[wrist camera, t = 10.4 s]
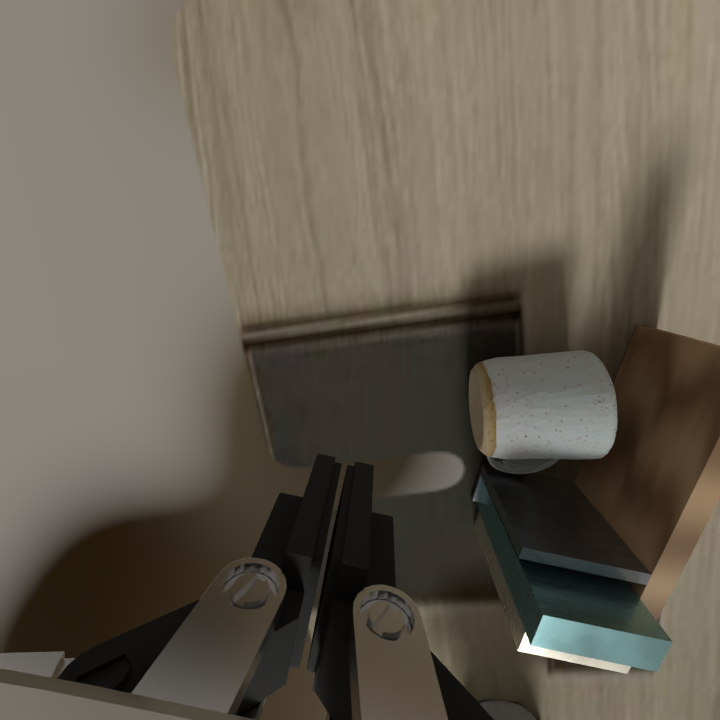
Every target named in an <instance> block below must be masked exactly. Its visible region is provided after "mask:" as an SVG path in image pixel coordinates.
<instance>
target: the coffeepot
mask: <svg viewBox="0 0 720 720" xmlns="http://www.w3.org/2000/svg"><path fill="white" fill-rule="evenodd" d="M479 704H480V705H481V706H482V707H483V708H484V709H485V710H486V711H487V712H488V714H489V715H490V716H491V717H492V718H493V719H494V720H537V719H536V718H535V717H534V716H533V715H532V714H531V712H530V711H528V710H527V709H526V708H524V707H522V706H521V705H519V704H516V703H513V702H509V701H503V700H492V701H485V702H481V703H479Z"/></svg>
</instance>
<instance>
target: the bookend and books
mask: <svg viewBox="0 0 720 720" xmlns="http://www.w3.org/2000/svg"><path fill="white" fill-rule="evenodd" d="M471 499H472V501H475V502H477V503H476V504H477V507H478V510H479V511H478V514H477V517H476V521H475V524H474V526H475V529H476V532H477V535H478V537H479V540H480V543H481V546H482V549H483V552H484V555H485V558H486V561H487V563H488V566H489V569H490V572H491V575H492V578H493V581H494V584H495V587H496V589H497V592H498V595H499V598H500V601H501V604H502V607H503V610H504V613H505V615H506V618H507V621H508V624H509V627H510V630H511V633H512V636H513V639H514V642H515V644H516V647H517V650H518V651H520V652H525V653H530V654H535V655H539V656H544V657H549V658H554V659H559V660H563V661H568V662H573V663H578V664H583V665H587V666H592V667H597V668H602V669H607V670H611V671H616V672H621V673H626V674H627V673H628V671H629V669H630V668H631V667H636V668H641V669H645V670H650V671H655V672H657V670H658V668H659V666H660V665H661V663H662V661H663V659H664V657H665V655H666V653H667V652H668V650H669V648H670V646H671V644H672V641H671V639H670V638H669V637H668V635H667V634H666V633H665V631H664V630H663V629H662V627H661V626H660V625H659V623H658V622H657V621H656V619H655V618H654V617H653V615H652V614H651V613H650V611H649V610H648V609H647V607H646V606H645V605H644V603H643V602H642V601H641V599H640V598H639V597H638V595H637V594H636V593H635V591H634V590H633V589H632V587H631V586H630V585H629V583H628V582H627V581H630V582H634V583H639V584H644V585H647V584H648V582H649V580H650V578H651V576H652V574H651V573H650V572H649V571H648V569H647V568H646V567H645V566H644V565H643V563H642V562H641V561H640V560H639V559H638V558H637V556H636V555H635V554H634V553H633V552H632V551H631V549H630V548H629V547H628V546H627V545H626V543H625V542H624V541H623V540H622V539H621V538H620V536H619V535H618V534H617V533H616V532H615V530H614V529H613V528H612V527H611V526H610V525H609V523H608V522H607V521H606V520H605V519H604V517H603V516H602V515H601V514H600V513H599V512H598V510H597V509H596V508H595V507H594V506H593V505H592V503H591V502H590V501H589V500H588V499H587V497H586V496H585V495H584V494H583V493H582V492H581V490H580V489H579V488H578V487H577V486H576V484H575V483H573V482H568V481H564V480H559V479H554V478H549V477H545V476H540V475H535V474H530V473H529V474H512V473H506V472H502V471H499V470H497V469H495V468H494V467H493V466H491V465H487V464H483V463H482V465H481V468H480V471H479V475H478V478H477V481H476V484H475V487H474V490H473V493H472V496H471Z"/></svg>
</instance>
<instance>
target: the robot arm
mask: <svg viewBox="0 0 720 720" xmlns="http://www.w3.org/2000/svg"><path fill="white" fill-rule="evenodd" d="M335 458H336V457H332V456H328V455H323V454H317V457H316V460H315V463H314V466H313V469H312V472H311V475H310V478H309V481H308V484H307V487H306V490H305V494H304V497H299V496H294V495H290V494H285V493H280V494H279V496H278V498H277V500H276V503H275V505H274V507H273V509H272V512H271V514H270V517H269V519H268V521H267V523H266V526H265V528H264V530H263V532H262V535H261V537H260V539H259V542H258V544H257V546H256V548H255V551H254V553H253V556H252V558H244V559H241V560H237V561H234V562H233V563H231V564H229V565H227V566H226V567H225V568H224V569H223V570H222V571H221V572H220V573H219V574H218V576H217V577H216V579H215V580H214V581H213V582H212V584H211V585H210V587H209V588H208V589H207V591H206V592H205V593H204V595H203V596H202V597H201V599H200V600H197V601H195V602H193V603H191V604H188V605H186V606H184V607H182V608H179V609H177V610H175V611H173V612H170V613H168V614H166V615H164V616H161V617H159V618H157V619H155V620H152V621H150V622H148V623H146V624H143V625H141V626H139V627H137V628H134V629H132V630H130V631H128V632H126V633H123V634H121V635H119V636H116V637H114V638H112V639H110V640H108V641H105V642H103V643H101V644H99V645H96V646H94V647H92V648H91V649H89V650H87V651H86V652H84V653H82V654H80V655H79V656H78V657H77V658H69V659H64V652H33V653H0V720H259V718H260V715H261V713H262V710H263V706H264V703H265V698H266V697H268V696H269V695H270V694H272V693H273V692H275V691H276V690H278V689H279V688H281V687H282V686H284V685H286V680H287V676H288V672H289V667H293V668H297V669H298V668H299V666H300V661H301V657H302V652H303V647H304V643H305V638H306V633H307V629H308V624H309V620H310V615H311V610H312V606H313V601H314V597H315V592H316V587H317V583H318V578H319V573H320V569H321V564H322V559H323V554H324V549H325V544H326V540H327V535H328V530H329V525H330V520H331V515H332V510H333V504H334V499H335V495H336V490H337V484H338V480H339V474H340V470H341V465H342V464H341V463H336V462H335ZM373 468H374V466H373V465H369V464H365V463H360V462H355V465H354V466H350V465H347V469H346V474H345V479H344V483H343V487H342V492H341V497H340V501H339V505H338V510H337V515H336V519H335V524H334V528H333V533H332V537H331V542H330V547H329V552H328V557H327V563H326V568H325V573H324V579H323V584H322V589H321V595H320V600H319V606H318V611H317V616H316V622H315V627H314V633H313V638H312V643H311V649H310V654H309V660H308V665H307V671H311V672H315V679H314V685H313V691H315V692H316V694H317V696H318V697H319V698H320V700H321V702H322V703H323V705H324V707H325V708H326V710H327V711H326V717H325V720H494V719H493V718H492V717H491V716H490V715H489V714H488V712H487V711H486V710H485V709H484V708H483V707H482V706H481V705H480V704H479V703H478V702H477V701H476V699H475V698H474V697H473V696H472V695H471V694H470V693H469V692H468V691H467V690H466V689H465V688H464V687H463V685H462V684H461V683H460V682H459V681H458V680H457V679H456V678H455V677H454V676H453V675H452V674H451V673H450V671H449V670H448V669H447V668H446V667H445V666H444V665H443V664H442V663H441V662H440V661H439V660H438V658H437V657H436V656H435V655H434V654H433V653H432V652H431V651H430V648H429V644H428V640H427V637H426V633H425V629H424V625H423V621H422V617H421V615H420V612H419V610H418V608H417V606H416V605H415V603H414V602H413V601H412V600H411V598H409V597H408V596H407V595H406V594H405V593H403V592H402V591H400V590H398V589H396V586H395V558H394V530H393V517H392V516H388V515H383V514H379V513H374V512H372V491H373V470H374V469H373Z"/></svg>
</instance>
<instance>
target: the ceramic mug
mask: <svg viewBox="0 0 720 720" xmlns="http://www.w3.org/2000/svg"><path fill="white" fill-rule="evenodd" d="M469 409H470V419H471V426H472V431H473V436H474V439H475V443H476V445H477V447H478V449H479V450H480V451H481V452H482V453H483V454H484V455H486V456H487V459H488V461H489V463H490V464H491V466H493V467H494V468H495V469H497V470H499V471H502V472H506V473H512V474H529V473H534V472H538V471H542V470H544V469H546V468H549V467H550V466H552V465H553V464H555V463H556V462H557V461H558V460H559V459H600V458H602V457H604V456H605V455H606V454H608V452H609V451H610V449H611V447H612V445H613V443H614V440H615V436H616V431H617V423H618V420H617V401H616V393H615V389H614V386H613V383H612V380H611V378H610V376H609V373H608V371H607V369H606V367H605V365H604V364H603V363H602V362H601V360H600V359H599V358H598V357H597V356H596V355H595V354H593V353H592V352H589V351H585V350H578V351H567V352H557V353H543V354H533V355H525V356H509V357H497V358H493V359H489V360H485V361H481V362H478V363H477V364H476V365H475V366H474V367H473V368H472V370H471V372H470V376H469Z"/></svg>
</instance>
